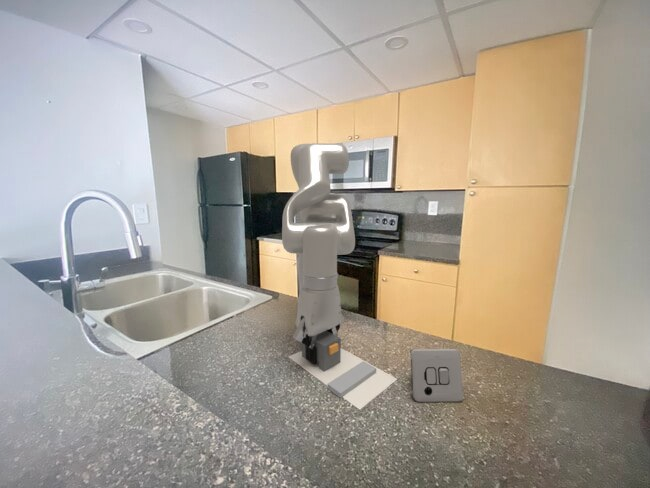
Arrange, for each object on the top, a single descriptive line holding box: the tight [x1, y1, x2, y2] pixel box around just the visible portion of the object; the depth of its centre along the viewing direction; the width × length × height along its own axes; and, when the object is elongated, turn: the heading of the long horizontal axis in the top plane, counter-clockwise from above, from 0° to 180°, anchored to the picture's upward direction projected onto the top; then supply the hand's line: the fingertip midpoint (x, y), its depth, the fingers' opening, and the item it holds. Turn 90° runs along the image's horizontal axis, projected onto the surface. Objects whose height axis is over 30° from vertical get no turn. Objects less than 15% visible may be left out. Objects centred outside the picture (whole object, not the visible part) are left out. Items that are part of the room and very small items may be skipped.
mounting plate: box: [288, 347, 398, 410], centre depth 58 cm, size 12×22×2 cm, turn 42°
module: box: [301, 331, 342, 372], centre depth 60 cm, size 5×9×6 cm, turn 43°
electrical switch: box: [409, 348, 464, 403], centre depth 51 cm, size 9×5×9 cm, turn 90°
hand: (320, 356), depth 61 cm, fingers closed on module, 5 cm apart
